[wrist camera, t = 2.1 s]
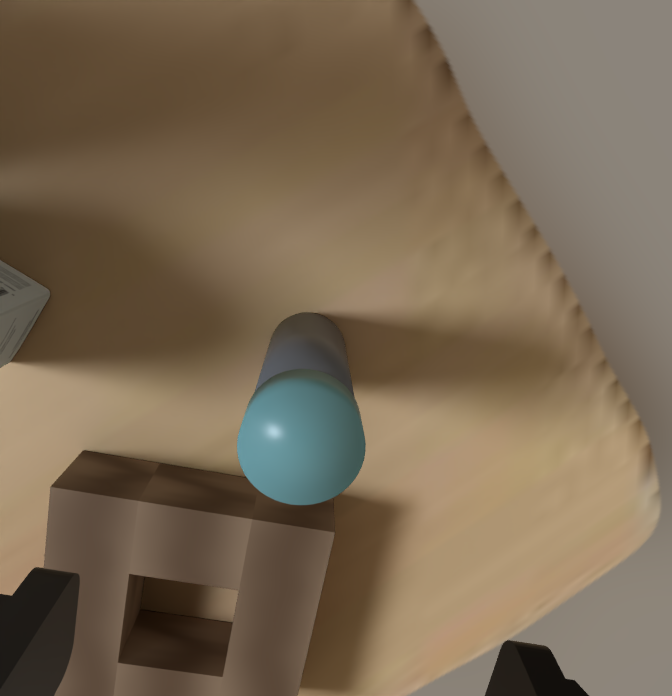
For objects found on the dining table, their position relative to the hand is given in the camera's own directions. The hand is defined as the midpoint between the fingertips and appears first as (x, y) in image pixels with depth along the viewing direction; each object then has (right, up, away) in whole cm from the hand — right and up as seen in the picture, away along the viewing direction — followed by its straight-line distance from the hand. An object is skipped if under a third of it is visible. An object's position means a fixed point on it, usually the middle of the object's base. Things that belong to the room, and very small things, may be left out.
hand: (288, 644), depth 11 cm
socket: (-8, -8, +23) cm, 26 cm away
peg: (-1, +5, +20) cm, 20 cm away
